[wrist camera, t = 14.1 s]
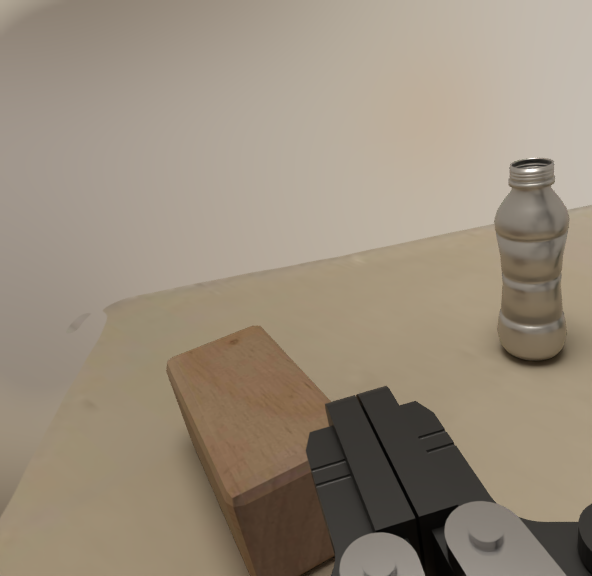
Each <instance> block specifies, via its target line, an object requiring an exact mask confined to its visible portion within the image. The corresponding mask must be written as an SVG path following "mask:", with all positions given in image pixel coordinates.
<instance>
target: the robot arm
mask: <svg viewBox="0 0 592 576" xmlns="http://www.w3.org/2000/svg"><path fill="white" fill-rule="evenodd" d="M325 409H326V414H327V419H328V423H329V427H326V428H322V429H319V430H315V431H312V432H310V433H309V438H308V442H307V447H306V454H307V458H308V462H309V466H310V470H311V474H312V478H313V481H314V485H315V489H316V493H317V497H318V501H319V504H320V507H321V511H322V514H323V517H324V521H325V524H326V528H327V531H328V534H329V538H330V542H331V545H332V548H333V552H334V555H335V564H334V568H333V572H332V574H331V576H592V504H591V505H589V506H588V507H586V508H585V509H584V510H583V512H582V513H581V515H580V518H579V522H536V521H531V520H526V519H523V518H520V517H518V516H517V515H516V514H514V513H513V512H512V511H511V510H509V509H507V508H505V507H504V506H501V505H499V504H497V503H496V502H495V501H494V500H493V499H492V498H491V496H490V495H489V493H488V492H487V490H486V489H485V488H484V486H483V485H482V483H481V482H480V480H479V479H478V477H477V476H476V474H475V473H474V471H473V470H472V468H471V467H470V466H469V464H468V463H467V461H466V460H465V458H464V457H463V455H462V454H461V452H460V451H459V449H458V448H457V446H455V445H454V442H453V441H452V439H451V438H450V436H449V435H448V433H447V432H445V429H444V427H443V426H442V424H441V423H440V421H439V420H438V418H437V417H436V416H435V414H434V413H433V412H432V411H430V410H429V409H427V408H426V407H424V406H422V405H421V404H419V403H418V402H416V401H414V402H410V403H407V404H403V405H400V406H399V404H398V403H397V401H396V399H395V398H394V396H393V394H392V393H391V391H390V389H389V388H388V387H387V386H384V387H381V388H377V389H374V390H370V391H367V392H363V393H360V394H357V395H356V396H355V395H354V396H350V397H347V398H343V399H340V400H336V401H333V402H329V403H326V404H325Z"/></svg>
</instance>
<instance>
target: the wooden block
mask: <svg viewBox="0 0 592 576" xmlns="http://www.w3.org/2000/svg"><path fill="white" fill-rule="evenodd" d="M166 371H167V374H168V377H169V380H170V382H171V385H172V388H173V391H174V394H175V396H176V399H177V402H178V405H179V407H180V410H181V413H182V416H183V418H184V421H185V424H186V427H187V430H188V432H189V435H190V438H191V440H192V442H193V445H194V447H195V449H196V452H197V454H198V456H199V459H200V461H201V463H202V465H203V468H204V470H205V472H206V475H207V477H208V479H209V482H210V484H211V486H212V489H213V491H214V493H215V495H216V498H217V500H218V502H219V505H220V507H221V509H222V512H223V514H224V516H225V519H226V521H227V523H228V525H229V528H230V530H231V532H232V535H233V537H234V539H235V542H236V544H237V546H238V549H239V551H240V553H241V555H242V558H243V560H244V562H245V565H246V567H247V569H248V572H249V574H250V576H300V575H302V574H303V573H305V572H307V571H309V570H310V569H312V568H314V567H316V566H317V565H319V564H321V563H323V562H324V561H326V560H328V559H330V558H331V557H333V556H335V555H334V552H333V548H332V545H331V542H330V538H329V534H328V531H327V528H326V524H325V521H324V517H323V514H322V511H321V507H320V504H319V501H318V497H317V493H316V489H315V485H314V481H313V478H312V474H311V470H310V466H309V462H308V458H307V454H306V447H307V442H308V438H309V433H310V432H312V431H315V430H319V429H322V428H326V427H329V423H328V419H327V414H326V409H325V404H326V403H329V402H331V401H330V400H329V399H328V398H327V397H326V396H325V395H324V394H323V392H322V391H321V390H320V389H319V388H318V387H317V386H316V385H315V384H314V383H313V382H312V381H311V380H310V379H309V377H308V376H307V375H306V374H305V373H304V372H303V371H302V370H301V369H300V368H299V367H298V366H297V365H296V364H295V363H294V361H293V360H292V359H291V358H290V357H289V356H288V355H287V354H286V353H285V352H284V351H283V350H282V349H281V348H280V346H279V345H278V344H277V343H276V342H275V341H274V340H273V339H272V338H271V337H270V336H269V335H268V334H267V333H266V331H265V330H264V329H263V328H262V327H261V326H251V327H248V328H246V329H243V330H240V331H238V332H235V333H233V334H230V335H228V336H225V337H223V338H220V339H218V340H215V341H213V342H210V343H207V344H205V345H202V346H200V347H197V348H195V349H192V350H190V351H187V352H185V353H182V354H180V355H177V356H174V357H172V358H171V359H170V360H169V361H168V362H167V370H166Z"/></svg>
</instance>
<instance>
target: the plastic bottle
mask: <svg viewBox="0 0 592 576" xmlns="http://www.w3.org/2000/svg"><path fill="white" fill-rule="evenodd" d="M554 182H555V176H554V161H553V160H551V159H546V158H528V159H522V160H518V161H515V162H513V163H511V164H510V178H509V186H510V187H512V190H511V192H510V193H509V194H508V195H507V197H506V198H505V199H504V200H503V202H502V203H501V205H500V207H499V208H498V210H497V213H496V216H495V220H494V223H495V230H496V236H497V241H498V246H499V252H500V257H501V269H502V281H503V286H502V301H501V309H500V313H499V319H498V328H497V330H498V334H499V339H500V342H501V344H502V346H503V347H504V348H505V349H506V350H507V351H508V352H509V353H510V354H511V355H513V356H515V357H517V358H520V359H524V360H530V361H540V360H546V359H550V358H552V357H554V356H555V355H556V354H557V353H558V352H559V351H561V349H562V348H563V346H564V343H565V339H566V335H567V329H566V321H565V316H564V312H563V308H562V295H561V271H562V262H563V253H564V248H565V243H566V238H567V233H568V228H569V215H568V211H567V208H566V206H565V205H564V203H563V202H562V201H561V199H560V198H559V197H558V195H557V194H556V193H555V192H554V191H553V189H552V188H551V185H552V184H554Z"/></svg>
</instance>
